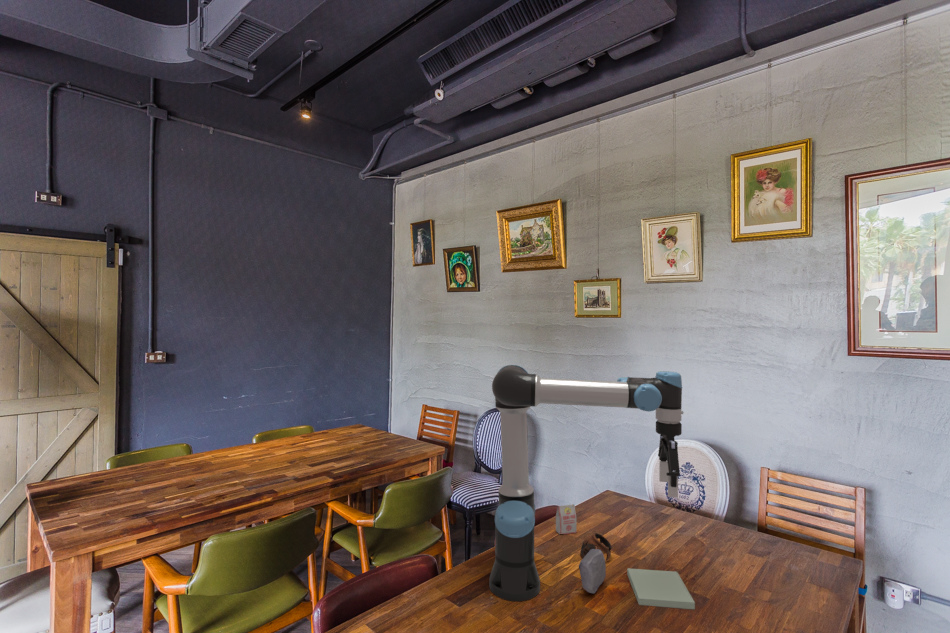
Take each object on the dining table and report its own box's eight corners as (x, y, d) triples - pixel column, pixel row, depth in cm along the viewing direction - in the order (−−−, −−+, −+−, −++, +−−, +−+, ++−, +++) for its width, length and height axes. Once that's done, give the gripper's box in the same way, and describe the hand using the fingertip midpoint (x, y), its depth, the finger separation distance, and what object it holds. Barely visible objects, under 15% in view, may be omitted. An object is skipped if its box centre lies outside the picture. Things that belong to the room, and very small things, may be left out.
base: (638, 605, 131) (638, 598, 131) (627, 574, 147) (627, 568, 147) (694, 609, 129) (694, 602, 129) (677, 578, 145) (677, 571, 145)
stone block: (591, 576, 145) (591, 544, 146) (606, 581, 143) (606, 549, 143) (576, 595, 136) (576, 560, 136) (592, 600, 133) (592, 565, 133)
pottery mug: (584, 547, 164) (596, 528, 163) (606, 568, 159) (618, 548, 158) (570, 553, 155) (582, 533, 154) (592, 575, 149) (606, 554, 148)
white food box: (555, 530, 177) (555, 504, 177) (571, 528, 179) (571, 502, 179) (560, 534, 174) (560, 508, 174) (576, 532, 176) (576, 506, 176)
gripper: (691, 431, 133) (691, 505, 133) (672, 413, 158) (672, 476, 158) (663, 429, 135) (663, 503, 135) (649, 412, 159) (649, 475, 159)
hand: (668, 488), depth 146 cm, fingers open, 13 cm apart
